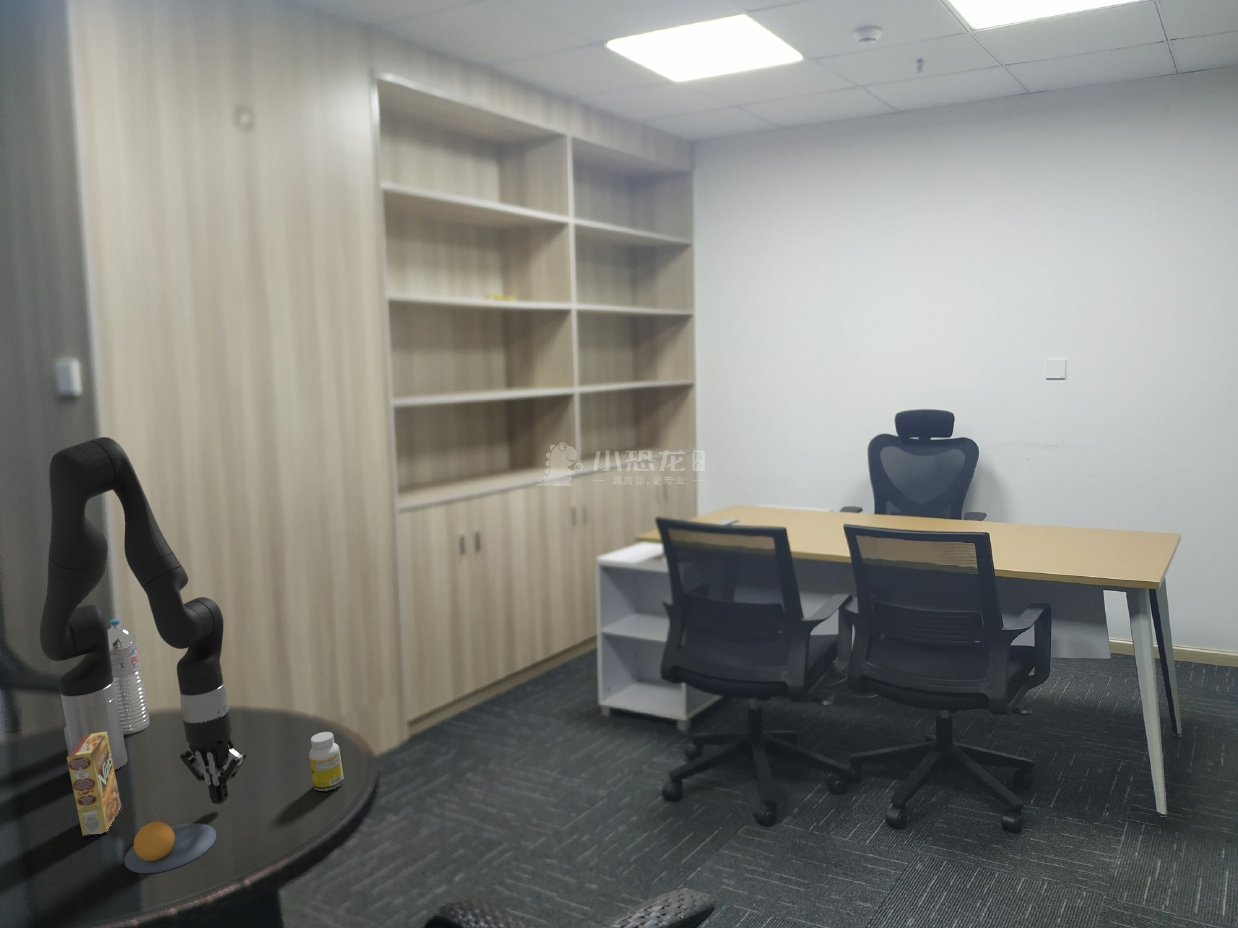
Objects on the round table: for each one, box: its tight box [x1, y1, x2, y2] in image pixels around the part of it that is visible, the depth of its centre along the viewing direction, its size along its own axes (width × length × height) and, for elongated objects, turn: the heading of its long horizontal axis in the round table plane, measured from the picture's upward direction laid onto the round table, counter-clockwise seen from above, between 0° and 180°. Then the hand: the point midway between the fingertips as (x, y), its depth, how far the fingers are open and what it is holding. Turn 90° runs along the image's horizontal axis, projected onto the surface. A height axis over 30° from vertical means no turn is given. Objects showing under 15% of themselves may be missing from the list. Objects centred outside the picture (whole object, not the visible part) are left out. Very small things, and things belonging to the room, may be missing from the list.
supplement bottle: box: [308, 731, 345, 789], centre depth 170 cm, size 5×5×10 cm
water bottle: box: [107, 618, 151, 736], centre depth 201 cm, size 7×7×25 cm
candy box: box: [66, 732, 122, 836], centre depth 163 cm, size 9×4×15 cm, turn 13°
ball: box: [133, 821, 175, 861], centre depth 151 cm, size 6×6×6 cm
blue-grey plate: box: [123, 822, 217, 874], centre depth 154 cm, size 14×14×1 cm
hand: (220, 801), depth 165 cm, fingers closed
